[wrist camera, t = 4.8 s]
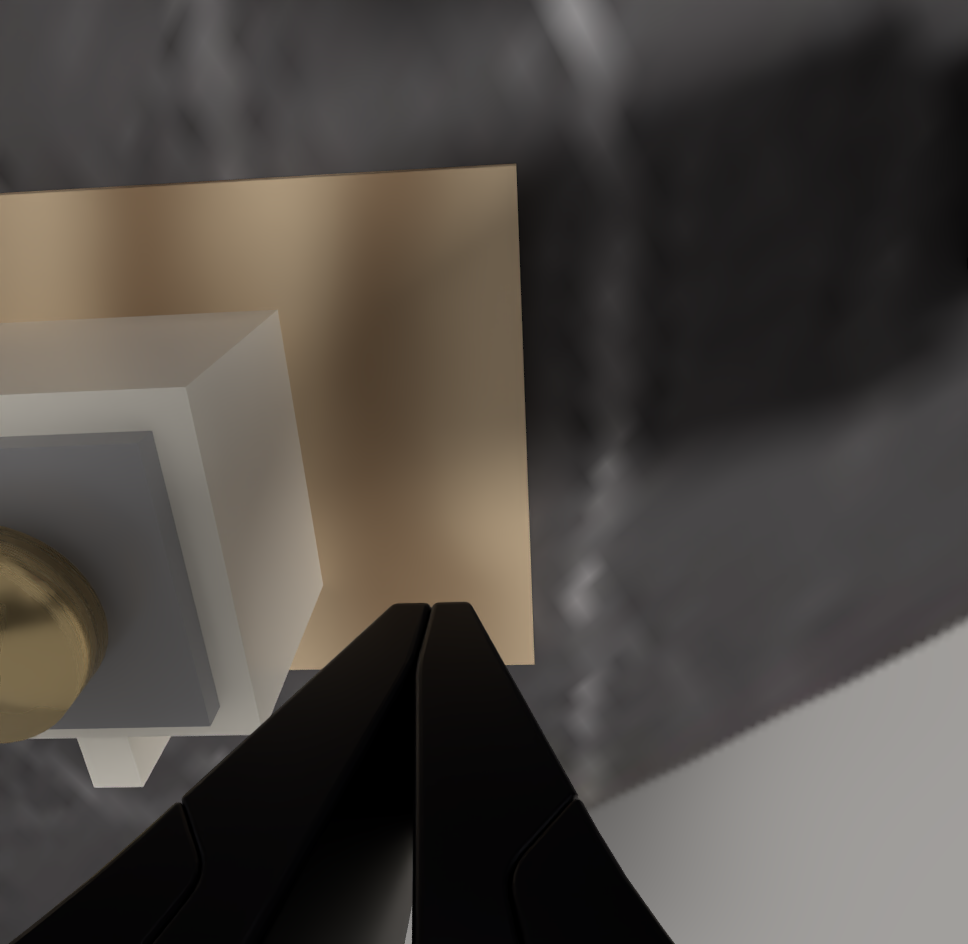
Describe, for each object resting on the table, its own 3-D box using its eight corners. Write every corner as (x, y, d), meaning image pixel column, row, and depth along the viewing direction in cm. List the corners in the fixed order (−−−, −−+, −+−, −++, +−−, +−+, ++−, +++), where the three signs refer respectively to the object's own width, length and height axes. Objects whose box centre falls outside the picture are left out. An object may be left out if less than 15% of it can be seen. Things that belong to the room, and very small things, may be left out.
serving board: (516, 162, 19) (516, 165, 18) (533, 647, 24) (534, 664, 24) (-285, 209, 20) (-316, 213, 19) (-86, 662, 25) (-104, 679, 25)
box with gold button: (277, 309, 19) (172, 398, 13) (332, 642, 24) (270, 823, 18) (-35, 324, 20) (-272, 416, 14) (73, 648, 24) (-74, 827, 18)
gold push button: (215, 380, 19) (68, 513, 13) (255, 575, 21) (147, 769, 15) (-4, 390, 19) (-254, 524, 13) (58, 581, 21) (-128, 774, 15)
